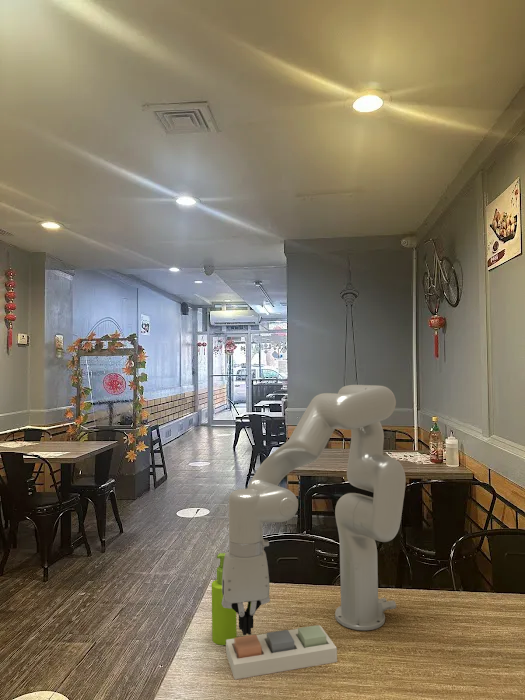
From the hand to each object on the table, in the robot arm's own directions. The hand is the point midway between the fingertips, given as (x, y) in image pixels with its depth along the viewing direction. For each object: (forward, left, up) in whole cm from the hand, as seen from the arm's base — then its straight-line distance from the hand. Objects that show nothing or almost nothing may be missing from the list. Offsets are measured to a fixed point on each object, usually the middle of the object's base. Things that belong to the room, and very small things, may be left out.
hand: (245, 631), depth 109 cm
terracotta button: (0, 0, -4) cm, 4 cm away
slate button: (-8, 0, -4) cm, 9 cm away
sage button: (-15, 0, -4) cm, 16 cm away
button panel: (-8, 0, -7) cm, 10 cm away
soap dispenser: (+2, -11, -7) cm, 13 cm away
